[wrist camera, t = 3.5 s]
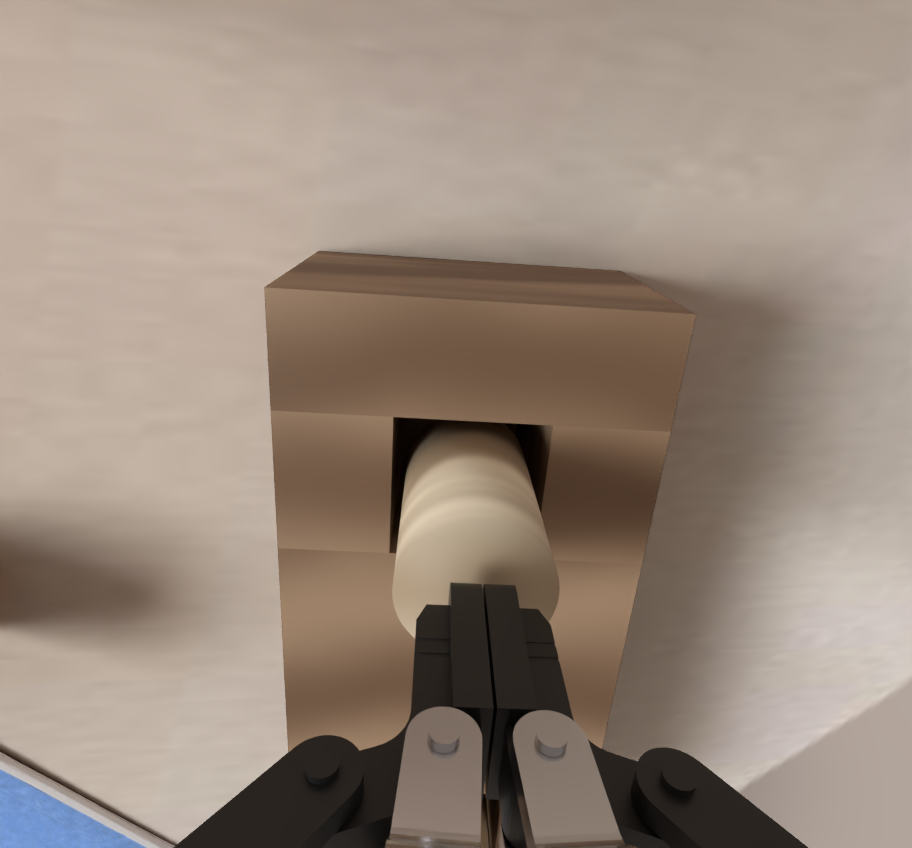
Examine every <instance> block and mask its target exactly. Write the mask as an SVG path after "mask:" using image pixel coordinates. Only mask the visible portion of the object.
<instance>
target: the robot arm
mask: <svg viewBox="0 0 912 848" xmlns="http://www.w3.org/2000/svg"><path fill="white" fill-rule="evenodd" d="M558 658H559V657H558V653H557V649H556V646H555V641H554V636H553V632H552V628H551V625H550V623H549V622H548V621H547V620H546V618H545V617H544V616H543V615H542V613H541V612H540V611H539V610H538V609H528V608H520V607H519V601H518V595H517V590H516V586H515V585H500V584H483V589H482V584H474V583H452V582H450V588H449V600H448V605H431V604H426V606H425V607H424V609H423V610H422V612H421V613H420V615H419V616H418V618H417V619H416V634H415V651H414V668H413V685H412V702H411V713H410V717H409V720H408V722H407V724H406V726H405V727H404V728H403V730H402V731H401V732H400V733H399V734H398V735H397V736H396V737H394V738H393V739H391V740H390V741H388V742H386V743H384V744H381V745H378V746H375V747H371V748H367V749H364V750H360V751H359V749H358V748H357V747H356V746H355V745H354V744H353V743H352V742H350V741H349V740H347V739H345V738H342V737H339V736H335V735H321V736H316V737H313V738H310V739H307V740H305V741H303V742H301V743H300V744H299V745H297V746H296V747H294V748H293V749H292V750H291V751H290V752H288V753H287V754H286V755H285V756H284V757H282V758H281V759H280V760H279V761H278V762H276V763H275V764H274V765H273V766H272V767H270V768H269V769H268V770H267V771H266V772H264V773H263V774H262V775H261V776H259V777H258V778H257V779H256V780H255V781H253V782H252V783H251V784H250V785H249V786H247V787H246V788H245V789H244V790H243V791H241V792H240V793H239V794H238V795H237V796H235V797H234V798H233V799H232V800H231V801H229V802H228V803H227V804H226V805H224V806H223V807H222V808H221V809H220V810H218V811H217V812H216V813H215V814H214V815H212V816H211V817H210V818H209V819H208V820H206V821H205V822H204V823H203V824H202V825H200V826H199V827H198V828H197V829H196V830H194V831H193V832H192V833H191V834H189V835H188V836H187V837H186V838H185V839H183V840H182V841H181V842H180V843H179V844H177V845H176V846H175V847H174V848H482V847H481V799H483V791H484V783H485V792H486V799H496V800H499V801H500V812H501V823H500V830H499V838H498V839H499V848H808V847H807V846H805V845H804V844H803V843H802V842H800V841H799V840H798V839H797V838H795V837H794V836H793V835H792V834H790V833H789V832H788V831H786V830H785V829H784V828H782V827H781V826H780V825H779V824H778V823H776V822H775V821H774V820H773V819H771V818H770V817H769V816H767V815H766V814H765V813H764V812H762V811H761V810H760V809H758V808H757V807H756V806H755V805H754V804H752V803H751V802H750V801H749V800H747V799H746V798H745V797H743V796H742V795H741V794H740V793H738V792H737V791H736V790H735V789H733V788H732V787H731V786H730V785H728V784H727V783H726V782H724V781H723V780H722V779H721V778H719V777H718V776H717V775H716V774H714V773H713V772H712V771H711V770H709V769H708V768H707V767H706V766H704V765H703V764H702V763H700V762H699V761H698V760H696V759H695V758H694V757H692V756H690V755H688V754H686V753H684V752H682V751H679V750H676V749H672V748H655V749H651V750H649V751H647V752H646V753H644V754H643V755H642V756H641V757H640V759H639V761H638V762H637V761H634V760H631V759H628V758H625V757H622V756H619V755H616V754H613V753H610V752H607V751H605V750H603V749H601V748H599V747H598V746H596V745H595V744H593V743H592V742H591V741H589V740H588V739H587V736H586V734H585V733H584V731H583V730H582V728H581V727H580V726H579V725H578V724H577V723H576V722H575V721H574V719H573V716H572V712H571V708H570V704H569V699H568V695H567V691H566V687H565V683H564V678H563V674H562V670H561V666H560V662H559V660H558Z"/></svg>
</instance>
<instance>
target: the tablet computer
mask: <svg viewBox="0 0 912 848" xmlns="http://www.w3.org/2000/svg"><path fill="white" fill-rule="evenodd" d="M174 847H175V845H173V844H171V843H169V842H167V841H165V840H163V839H161V838H159V837H157V836H155V835H153V834H151V833H149V832H148V831H146V830H144V829H142V828H140V827H138V826H136V825H134V824H132V823H131V822H129V821H127V820H125V819H123V818H121V817H119V816H118V815H116V814H114V813H112V812H110V811H108V810H106V809H105V808H103V807H101V806H99V805H97V804H95V803H94V802H92V801H90V800H88V799H86V798H85V797H83V796H81V795H79V794H77V793H75V792H74V791H72V790H70V789H68V788H66V787H65V786H63V785H61V784H59V783H57V782H55V781H53V780H51V779H50V778H48V777H46V776H44V775H42V774H40V773H38V772H36V771H34V770H33V769H31V768H29V767H27V766H25V765H23V764H21V763H19V762H18V761H16V760H14V759H12V758H10V757H9V756H7V755H5V754H3V753H2V752H0V848H174Z"/></svg>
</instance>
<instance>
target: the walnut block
mask: <svg viewBox="0 0 912 848" xmlns="http://www.w3.org/2000/svg"><path fill="white" fill-rule="evenodd" d="M264 289H265V309H266V328H267V348H268V367H269V386H270V406H271V425H272V445H273V464H274V483H275V503H276V522H277V542H278V561H279V581H280V600H281V619H282V639H283V658H284V678H285V697H286V717H287V736H288V752H290V751H291V750H292V749H293V748H294V747H296V746H297V745H299V744H300V743H301V742H303V741H305V740H307V739H310V738H313V737H316V736H321V735H335V736H339V737H342V738H345V739H347V740H349V741H350V742H352V743H353V744H354V745H355V746H356V747H357V748H358V749H359V751H360V750H364V749H367V748H371V747H375V746H378V745H381V744H384V743H386V742H388V741H390V740H391V739H393V738H394V737H396V736H397V735H398V734H399V733H400V732H401V731H402V730H403V728H404V727H405V726H406V724H407V722H408V720H409V717H410V713H411V702H412V685H413V668H414V651H415V638H414V637H413V636H412V635H411V634H410V633H409V632H408V631H407V630H406V629H405V627H404V626H403V625H402V623H401V621H400V620H399V618H398V616H397V613H396V611H395V608H394V604H393V598H392V587H393V578H394V570H395V561H396V552H397V544H398V535H399V527H400V518H401V510H402V501H403V493H404V484H405V476H406V467H407V459H408V454H409V450H410V447H411V445H412V443H413V441H414V440H415V438H416V436H417V435H418V434H419V433H420V431H421V430H422V429H424V428H425V427H426V426H427V425H428V424H430V423H431V422H432V421H434V420H436V419H440V420H458V421H477V422H496V423H503V424H504V425H506V426H507V427H508V428H509V429H510V430H511V431H512V432H513V433H514V435H515V436H516V438H517V439H518V441H519V443H520V445H521V448H522V451H523V454H524V458H525V461H526V465H527V468H528V472H529V475H530V479H531V482H532V486H533V489H534V492H535V496H536V499H537V503H538V506H539V510H540V513H541V517H542V520H543V524H544V527H545V531H546V534H547V538H548V541H549V545H550V548H551V552H552V555H553V558H554V562H555V565H556V569H557V573H558V577H559V585H560V591H559V599H558V603H557V607H556V609H555V612H554V614H553V616H552V617H551V619H550V621H549V623H550V625H551V628H552V632H553V636H554V641H555V646H556V649H557V653H558V657H559V658H558V660H559V662H560V666H561V670H562V674H563V678H564V683H565V687H566V691H567V695H568V699H569V704H570V708H571V712H572V716H573V719H574V721H575V722H576V723H577V724H578V725H579V726H580V727H581V728H582V730H583V731H584V733H585V734H586V736H587V739H588V740H589V741H591V742H592V743H593V744H595V745H596V746H598V747H599V748H601V749H602V746H603V742H604V737H605V732H606V728H607V723H608V719H609V714H610V709H611V705H612V700H613V696H614V691H615V686H616V682H617V677H618V673H619V668H620V663H621V659H622V654H623V650H624V645H625V640H626V636H627V631H628V626H629V622H630V617H631V613H632V608H633V603H634V599H635V594H636V590H637V585H638V580H639V576H640V571H641V567H642V562H643V557H644V553H645V548H646V544H647V539H648V534H649V530H650V525H651V521H652V516H653V511H654V507H655V502H656V498H657V493H658V488H659V484H660V479H661V475H662V470H663V465H664V461H665V456H666V451H667V447H668V442H669V438H670V433H671V428H672V424H673V419H674V415H675V410H676V405H677V401H678V396H679V392H680V387H681V382H682V378H683V373H684V369H685V364H686V359H687V355H688V350H689V346H690V341H691V336H692V332H693V327H694V323H695V318H696V314H695V313H693V312H691V311H689V310H688V309H686V308H684V307H682V306H681V305H679V304H677V303H675V302H674V301H672V300H670V299H668V298H667V297H665V296H663V295H661V294H660V293H658V292H656V291H654V290H653V289H651V288H649V287H647V286H646V285H644V284H642V283H640V282H639V281H637V280H635V279H633V278H632V277H630V276H628V275H626V274H625V273H623V272H621V271H614V270H599V269H584V268H568V267H553V266H538V265H522V264H507V263H492V262H477V261H461V260H446V259H431V258H416V257H400V256H385V255H370V254H354V253H339V252H324V251H318V252H317V253H315V254H314V255H312V256H311V257H309V258H308V259H306V260H305V261H303V262H302V263H300V264H299V265H297V266H296V267H294V268H293V269H291V270H290V271H288V272H287V273H285V274H284V275H282V276H281V277H279V278H278V279H276V280H275V281H273V282H272V283H270V284H269V285H267V286H266V287H264ZM483 794H485V801H486V815H487V830H488V844H489V848H499V839H498V838H499V830H500V823H501V812H500V801H499V800H496V799H486V792H485V783H484V791H483Z"/></svg>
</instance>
